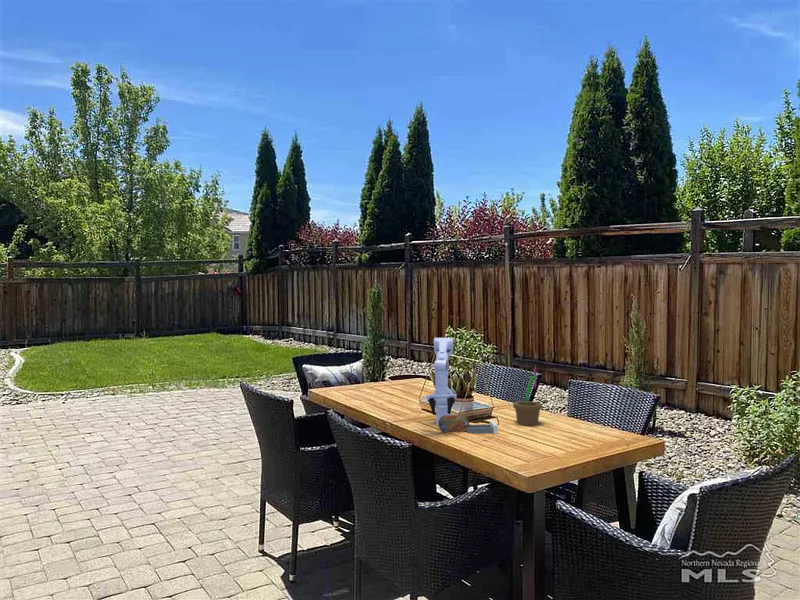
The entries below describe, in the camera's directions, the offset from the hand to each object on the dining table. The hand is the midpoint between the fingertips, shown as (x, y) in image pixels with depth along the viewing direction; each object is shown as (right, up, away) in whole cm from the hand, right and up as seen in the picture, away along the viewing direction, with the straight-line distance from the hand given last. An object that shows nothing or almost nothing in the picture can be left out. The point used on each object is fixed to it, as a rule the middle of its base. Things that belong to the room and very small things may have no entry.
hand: (441, 414), depth 277 cm
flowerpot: (+46, -10, +23) cm, 52 cm away
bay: (+19, -10, +7) cm, 22 cm away
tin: (+6, -10, +7) cm, 14 cm away
